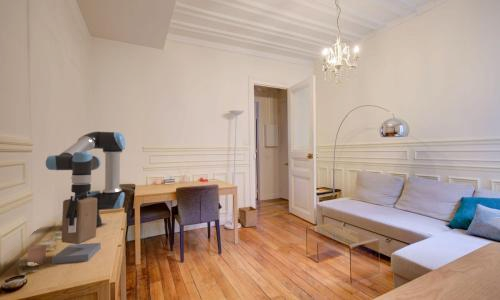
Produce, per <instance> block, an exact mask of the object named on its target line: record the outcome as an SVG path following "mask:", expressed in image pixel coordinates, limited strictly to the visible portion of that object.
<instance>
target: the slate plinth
mask: <svg viewBox="0 0 500 300" xmlns="http://www.w3.org/2000/svg"><path fill="white" fill-rule="evenodd" d="M101 246H102V244H101V242H94V243H93V242H92V243H80V244H69V245H67V246H66V247H64V248H63V249H62V250H60V251H59V252H58V253H56V254H55V255H53V256H52V258H51V259H52V261H51V262H52V265H53V264H54V265H55V264H68V263H79V262H88V261H90V260H91V259H92V258H93V257H94V256H95V255H96V254H97V253H98V252H99V251H100V250H101V249H102V248H101Z"/></svg>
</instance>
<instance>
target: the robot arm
mask: <svg viewBox="0 0 500 300" xmlns="http://www.w3.org/2000/svg"><path fill="white" fill-rule="evenodd" d="M93 149H101V150H102V153H103V154H104V155H105V156H104V157H105V159H104V161H105V162H104V163H105V165H104V167H105V168H104V169H105V170H104V175H105V176H104V177H105V178H104V183H105V185H104V189H103V190H102V192H101V191H100V190H91V188H92V184H91V182H92V171H94V170H98V169H99V167H101V166H102V165H101V163H102V161H101V159H100V157H98V156H95V155H93V153H92V152H88V151H91V150H93ZM125 149H126V139H125V136H124V134H123V133H122V132H116V131H92V132H89V133H86V134H84V135H82V136H80V137H79V138H78V139H77V141H76V142H75V143H73V144H72V145H71V146H69V147H68V148H67V149H65V150H64V151H63V152H61V153H60V154H58V155H57V154H56V155H49V156H47V158H46V160H45V167H46V168H47V170H50V171H71V177H70V179H71V183H72V184H71V188H70V189H71V190H70V191H71V193H73V194H74V195H71V196H70V198H69V199H70V204H69V207H68V211H67V214H66V219H69V227H68V233H73V232H76V221H77V218H75V217H76V214H77V210H76V205H77V201H78V200H83V199H84V198H87V197H92V198H97V223H96V228H97V227H100V226H101V225H103V224H102V223H103V221H102V217H101V215H100V211H102V210H103V211H104V210H112V211H113V210H118V209H121V208H122V206H123V205H124V201H125V196H126V195H125V192H123V189H122V188H121V187H120V179H121V178H120V174H121V173H120V168H121V167H120V166H121V165H120V163H121V162H120V161H121V154H122V153H123V150H125Z"/></svg>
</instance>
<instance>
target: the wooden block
mask: <svg viewBox="0 0 500 300" xmlns="http://www.w3.org/2000/svg"><path fill="white" fill-rule="evenodd" d="M69 204H70V198H69V199H65V200H62V215H61V216H62V221H61V243H65V244H71V245H74V244H83V243H84V242H87V241H89V240H91V239H94V238H96V237H97V227H96V223H97V198H92V197H87V198H84V199H83V200H78V201H77V205H76V210H77V214H76V217H75V218H77V221H76V232H73V233H68V227H69V219H66V214H67V211H68V207H69Z"/></svg>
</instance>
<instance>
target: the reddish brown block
mask: <svg viewBox="0 0 500 300" xmlns="http://www.w3.org/2000/svg"><path fill="white" fill-rule="evenodd" d="M46 256H47V245H46V244H39V245H32V246H31V247H28V249H27V260H26V263H27V262H34V263H37V264H39V265H38V266H40V265H43V264H45V263H46V261H47V259H46V258H47V257H46Z"/></svg>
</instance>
